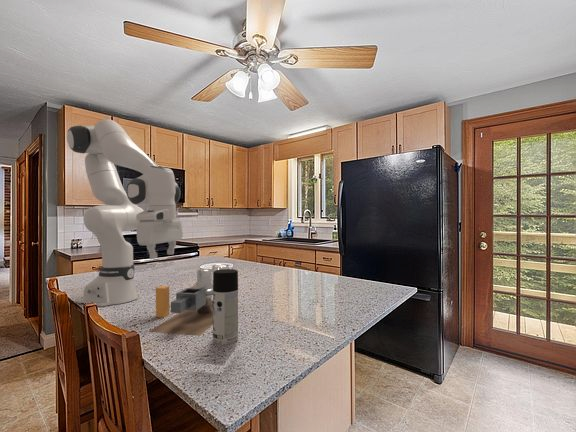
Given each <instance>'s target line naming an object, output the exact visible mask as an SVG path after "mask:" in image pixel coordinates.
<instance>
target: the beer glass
mask: <svg viewBox="0 0 576 432" xmlns="http://www.w3.org/2000/svg"><path fill="white" fill-rule="evenodd" d="M220 269H230V265H229V264H225V263H223V264H213V265H212V266H211V285H213V272H214V271H216V270H220Z"/></svg>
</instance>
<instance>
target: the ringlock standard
mask: <svg viewBox="0 0 576 432" xmlns="http://www.w3.org/2000/svg"><path fill="white" fill-rule="evenodd" d="M211 275H212V268H198V269H197V270H196V285H194V286H190V287H186V288H185V289H182V290H180V291H178V292H176V293H175V297H176V299H174V300H173V301H170V313H171V314H178V313H182V312H183V311H185V310H194V311H196V310H197V313H199V314H207V313H210V312H211V311H212V305H213V285H212V278H211Z"/></svg>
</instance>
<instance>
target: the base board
mask: <svg viewBox="0 0 576 432" xmlns="http://www.w3.org/2000/svg"><path fill="white" fill-rule="evenodd" d="M211 327H213V304H212V311H211V312H210V313H207V314H199V313H197V310H196V311H194V310H185V311H183V312H182V313H175V315H173V316H172V317H170V318H168V319H167V320H165V321H164V322H162V323H160V324H159V325H157V326H155V327H154V328H152V329H150V330H149V331H148V332H149V333H160V334H161V333H162V334H174V335H185V336H187V335H188V336H199V337H200V336H202V335H203V334H204V333H205V332H206V331H207V330H208V329H210V328H211Z"/></svg>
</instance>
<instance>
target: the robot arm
mask: <svg viewBox="0 0 576 432" xmlns="http://www.w3.org/2000/svg"><path fill="white" fill-rule="evenodd" d="M66 142H67V144H68V147H69V149H71V151H73V152H74V153H76V154H77V153H78V154H86V155H85V158H84V166H85V172H86V177H87V180H88V183H89V185H90V188H91V191H92V195H93V196H94V197H95V199H97V200H98V201H100V202H101V203H103V204H100V205H95V206H91V207H89V208H88V209H86V211H85V212H84V214H83V218H82V219H83V220H82V221H83V225H84V227H85V228H86V229H87V230H88V231H90V232H91V233H93V235H94V236H95V237H96V238H97V240H98V242H99V244H100V245H99V246H100V248H101V260H102V261H101V262H102V266H101V267H99V268H96V271H95V272H97V273H98V276H96V277H95V278H94V279H93V280H91V282H89V283H87V284H86V285H85V286H84V289H83V295H82V296H81V297H80V298H77V299H76V301H75V303H76V302H77V304H81V303H84V305H86V304H85V303H89V302H93V303H96V304H97V306H96V307H106V306H111V305H117V304H118V305H119V304H124V303H128V302H132V301H134V300H136V299H138V297H139V296H138V293H137V289H136V286H135V285H136V284H135V283H136V282H135V264H134V246H133V245H132V243H130V242H128V241H126V240H125V237H124V235H123V232H134V231H136V240H137V243H138V245H139V246H146V249H147V251H148V254H149V259H150V260H151V259H152V260H154V259H155V260H156V259H158V252H156V247H157V246H156V245H160V244H164V243H165V244H166V243H167V244H168V249H166V254H167V255H168V256H170V255H174V254H175V247H176V244H177V242H178V241H181V240H182V239H183V237H184V236H183V225H182V221H181V220H180V217H179V216H178V215H177V203H178V202H179V200H180V198H181V195H182V193H181V192H182V191H181V188H180V187H179V184H178V183H177V182H176V178H175V174H174V172H173V170H172V169H171V168H170V167H163V166H159V165H158V164H157V163H156V162H155V161H154V159H153V158H152V157H151V156H150V155H148V153H146V152H144V151H143V150H142V149H141V148H140V147H139V146H138V145H137V144H136V143H135V142H134V141H133V140H132V138H131V137H130V136H129V134H128V132H127V131H126V130H125V129H124V128H123V127H122V126H121V125H120V124H119V123H118V122H117V121H115V120H112V119H107V118H105V119H101V120H98V121H97V122H96V123H95V125H73V126H71V127H69V129H68V130H67V133H66ZM116 166H118V167H123V168H128V169H131V170H134V171H136V172H139V173H141V174H142V175H140V176H138V177H134V178H133V179H131V180H130V181H129V182H128V184H127V185H126V190H125V189H124V187H123V184H122V181H121V179H120V176H119V173H118V171H117V170H118V169H117V168H116ZM139 206H142V207H145V206H146V209H145V210H144V209H143V208H141V207H139Z"/></svg>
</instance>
